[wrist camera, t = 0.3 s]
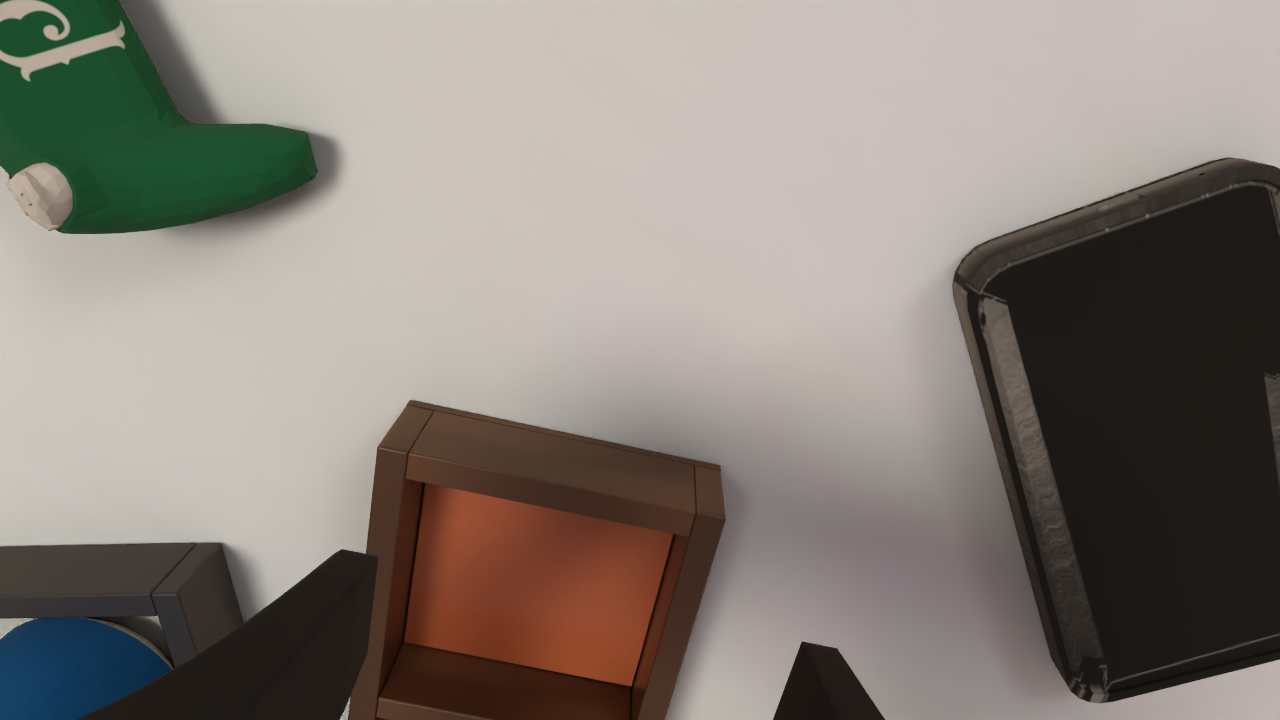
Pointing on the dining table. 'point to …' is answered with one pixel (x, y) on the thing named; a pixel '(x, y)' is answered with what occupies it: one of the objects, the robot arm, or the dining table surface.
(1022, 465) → the phone
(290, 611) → the robot arm
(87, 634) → the beverage can
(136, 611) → the holder
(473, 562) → the brown wooden divided tray
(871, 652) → the dining table surface
